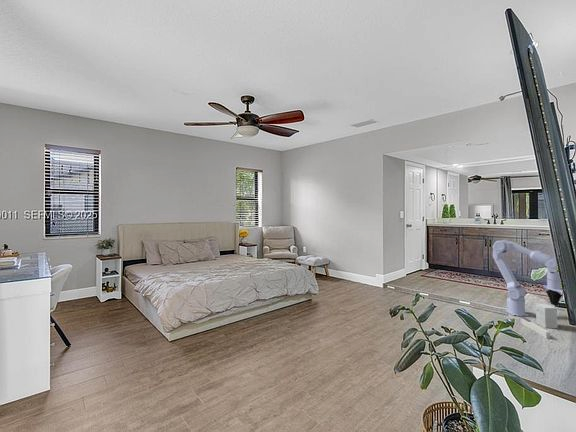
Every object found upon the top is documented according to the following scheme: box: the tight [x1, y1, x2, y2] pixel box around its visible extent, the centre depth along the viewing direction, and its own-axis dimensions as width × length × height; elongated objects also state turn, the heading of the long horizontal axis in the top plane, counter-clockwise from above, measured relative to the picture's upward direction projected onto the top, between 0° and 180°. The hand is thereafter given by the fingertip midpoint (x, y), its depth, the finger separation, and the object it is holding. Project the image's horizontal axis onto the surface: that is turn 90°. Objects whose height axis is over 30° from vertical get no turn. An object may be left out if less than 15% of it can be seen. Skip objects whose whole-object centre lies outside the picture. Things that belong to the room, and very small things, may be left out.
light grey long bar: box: [519, 316, 551, 339], centre depth 154 cm, size 21×2×3 cm, turn 171°
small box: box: [535, 303, 559, 329], centre depth 160 cm, size 8×6×10 cm
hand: (554, 304), depth 164 cm, fingers closed
